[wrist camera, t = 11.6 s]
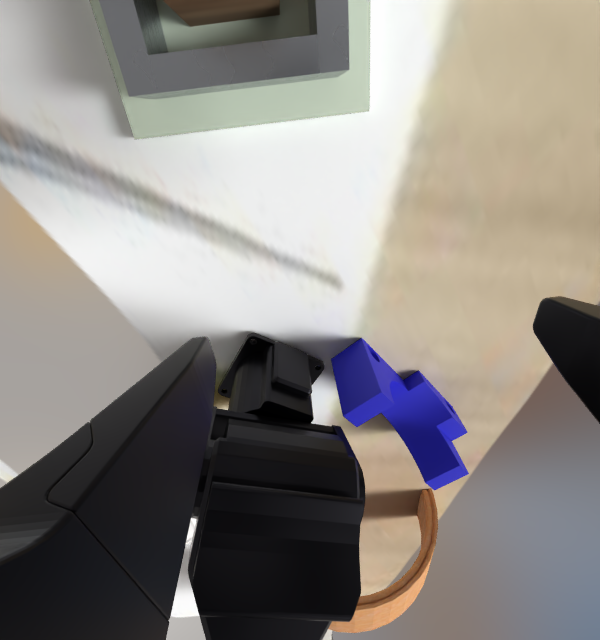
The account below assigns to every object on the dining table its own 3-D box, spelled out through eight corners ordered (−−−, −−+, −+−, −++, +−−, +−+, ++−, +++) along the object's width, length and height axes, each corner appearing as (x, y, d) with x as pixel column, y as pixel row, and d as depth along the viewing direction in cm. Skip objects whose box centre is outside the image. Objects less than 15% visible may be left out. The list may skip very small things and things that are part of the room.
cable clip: (451, 405, 30) (486, 465, 25) (409, 429, 31) (434, 490, 26) (376, 325, 25) (402, 379, 20) (330, 357, 26) (343, 416, 21)
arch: (424, 514, 40) (463, 622, 31) (259, 530, 40) (253, 642, 31) (431, 487, 37) (476, 598, 28) (252, 503, 37) (243, 620, 28)
